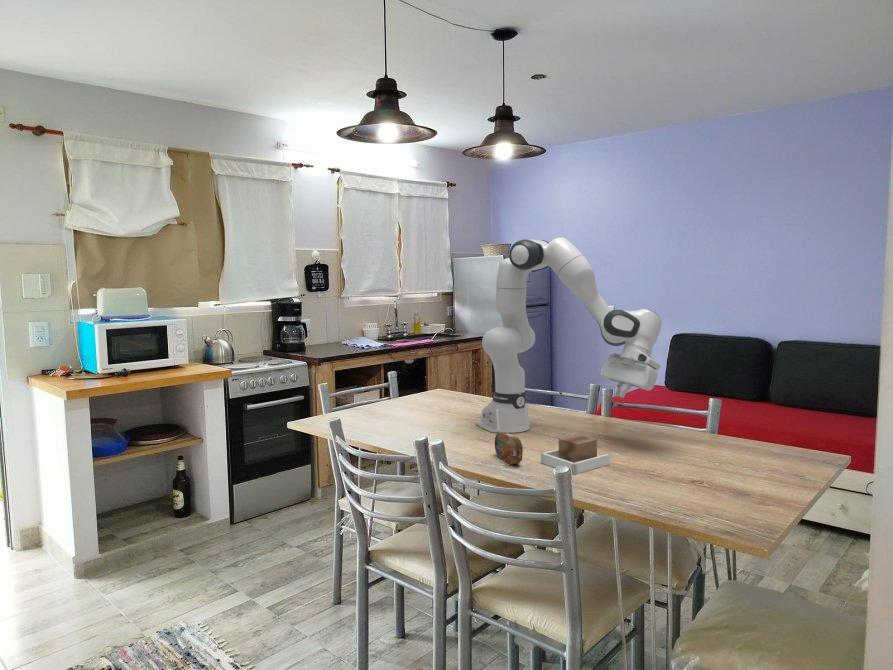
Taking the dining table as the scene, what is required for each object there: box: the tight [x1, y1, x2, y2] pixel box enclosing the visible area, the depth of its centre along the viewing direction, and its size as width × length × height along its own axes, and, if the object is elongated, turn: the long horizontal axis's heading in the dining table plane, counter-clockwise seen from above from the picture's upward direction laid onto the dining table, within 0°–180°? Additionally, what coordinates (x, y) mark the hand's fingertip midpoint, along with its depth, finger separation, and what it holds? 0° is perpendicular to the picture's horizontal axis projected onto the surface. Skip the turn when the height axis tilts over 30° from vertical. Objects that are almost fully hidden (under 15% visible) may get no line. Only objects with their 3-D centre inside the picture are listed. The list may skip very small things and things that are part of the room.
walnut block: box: [558, 434, 598, 463], centre depth 182 cm, size 8×8×8 cm
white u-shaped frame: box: [540, 448, 611, 475], centre depth 182 cm, size 14×15×3 cm
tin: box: [494, 432, 524, 465], centre depth 186 cm, size 15×3×8 cm, turn 21°
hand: (618, 396), depth 195 cm, fingers closed
